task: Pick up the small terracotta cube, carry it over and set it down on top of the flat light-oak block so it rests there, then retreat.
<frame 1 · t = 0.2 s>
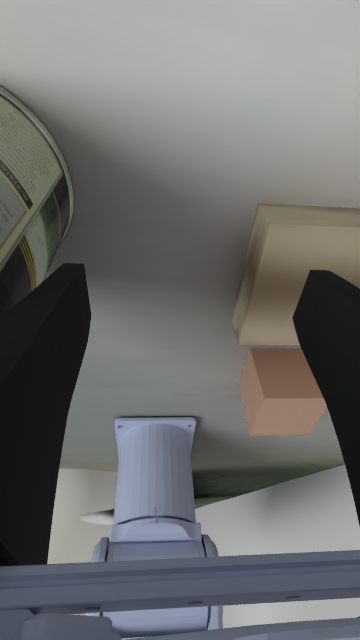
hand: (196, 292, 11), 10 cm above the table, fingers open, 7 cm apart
terracotta cube: (271, 367, 29), on the table
oak block: (306, 268, 23), on the table
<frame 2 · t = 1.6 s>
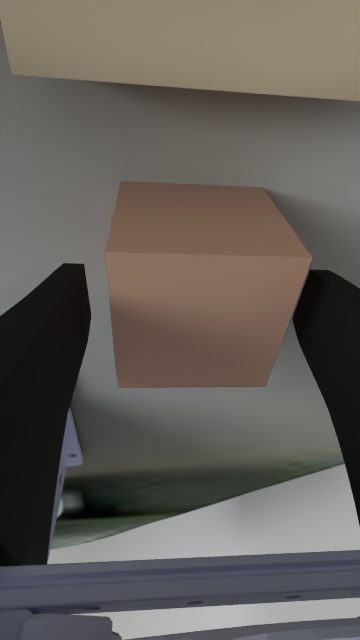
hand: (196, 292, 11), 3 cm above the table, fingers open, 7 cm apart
terracotta cube: (187, 247, 13), on the table
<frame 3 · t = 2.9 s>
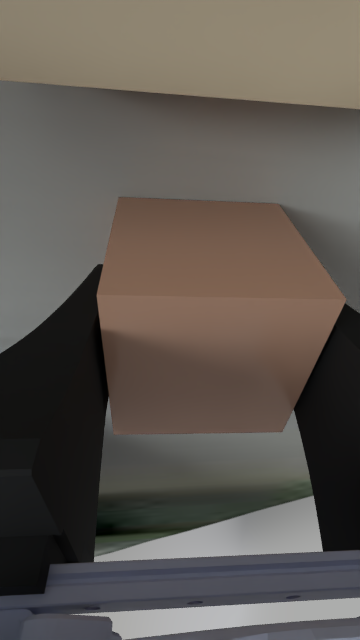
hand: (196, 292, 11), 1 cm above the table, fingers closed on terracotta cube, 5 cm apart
terracotta cube: (193, 269, 12), on the table, touching gripper
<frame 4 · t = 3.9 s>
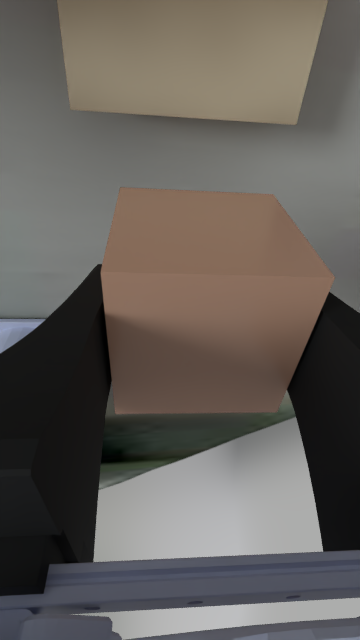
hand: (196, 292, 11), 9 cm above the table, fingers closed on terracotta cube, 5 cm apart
terracotta cube: (191, 258, 12), point 7 cm above the table, touching gripper
when the fingers open (6 cm above the table, at t = 5.4 s): terracotta cube drops 1 cm, point 2 cm above the table.
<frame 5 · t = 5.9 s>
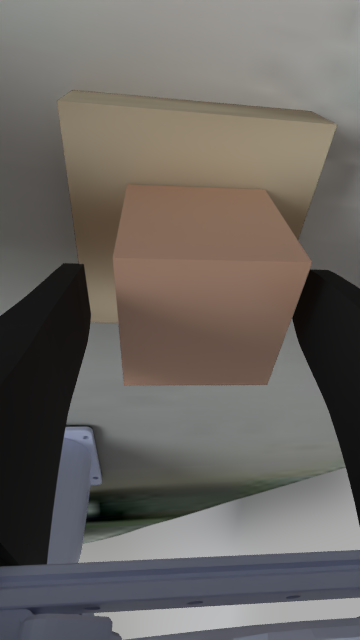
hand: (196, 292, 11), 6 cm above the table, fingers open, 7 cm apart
terracotta cube: (191, 248, 14), point 2 cm above the table
oak block: (184, 211, 16), on the table
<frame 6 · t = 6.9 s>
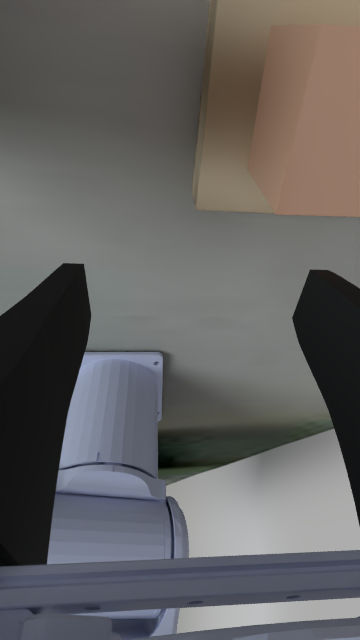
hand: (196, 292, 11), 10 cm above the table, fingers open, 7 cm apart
terracotta cube: (316, 108, 14), point 2 cm above the table, touching oak block
oak block: (291, 99, 16), on the table, touching terracotta cube
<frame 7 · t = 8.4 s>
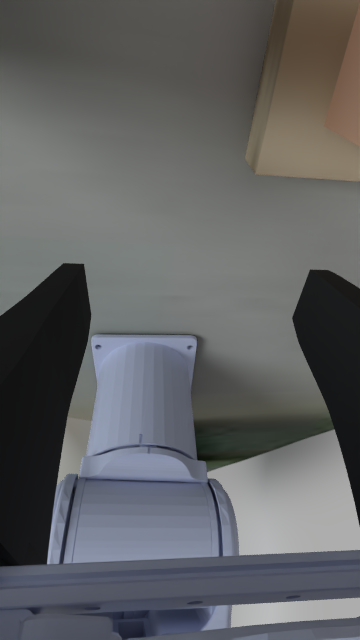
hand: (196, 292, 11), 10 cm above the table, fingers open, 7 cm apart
oak block: (357, 59, 16), on the table, touching terracotta cube
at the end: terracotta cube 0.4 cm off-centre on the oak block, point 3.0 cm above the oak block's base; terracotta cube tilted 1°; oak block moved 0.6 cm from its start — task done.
